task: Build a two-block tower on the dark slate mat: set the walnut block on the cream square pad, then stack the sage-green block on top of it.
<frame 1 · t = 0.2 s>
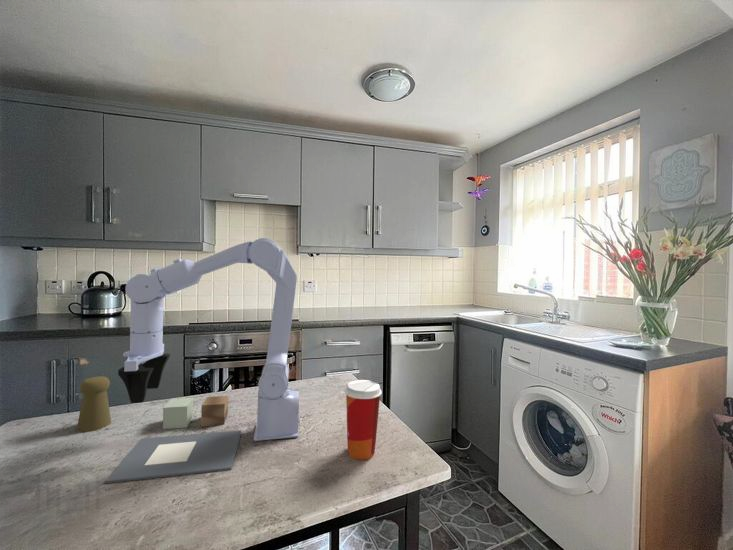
hand: (145, 394, 68), 10 cm above the counter, tool pointing down, fingers open, 7 cm apart
sage block: (178, 423, 76), on the counter
mat: (183, 453, 63), on the counter
paper cup: (360, 453, 66), on the counter
walnut block: (214, 420, 78), on the counter
cork: (94, 426, 73), on the counter
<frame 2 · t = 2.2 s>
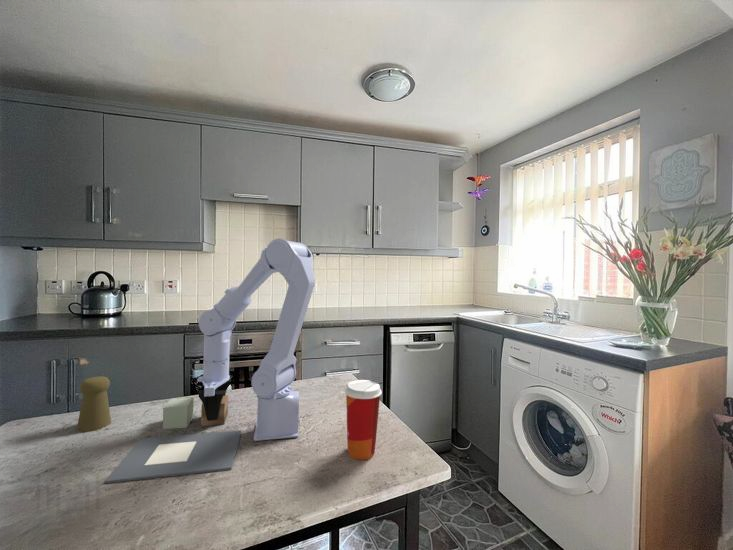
hand: (215, 414, 78), 1 cm above the counter, tool pointing down, fingers closed on walnut block, 5 cm apart
walnut block: (214, 420, 78), on the counter, touching gripper
everything else where it was.
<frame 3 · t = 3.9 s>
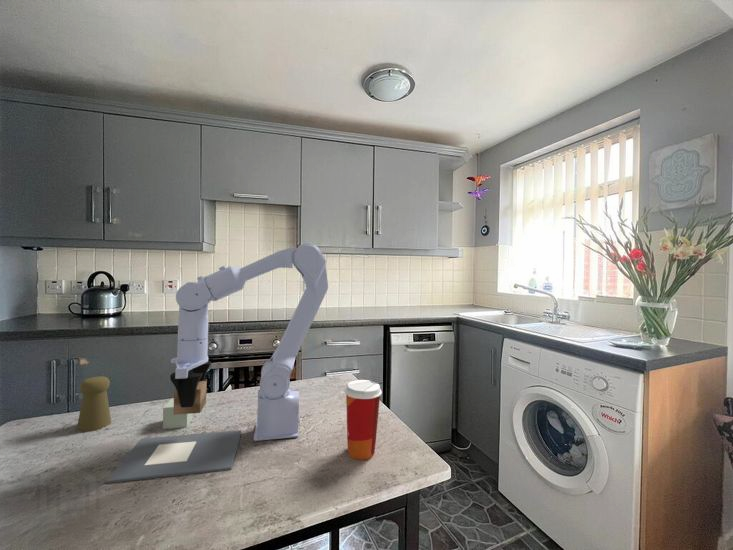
hand: (191, 401, 68), 8 cm above the counter, tool pointing down, fingers closed on walnut block, 5 cm apart
walnut block: (190, 408, 68), point 7 cm above the counter, touching gripper
everything else where it was.
when the fingers open (3 cm above the counter, at t = 5.9 s): walnut block stays where it is, resting on mat.
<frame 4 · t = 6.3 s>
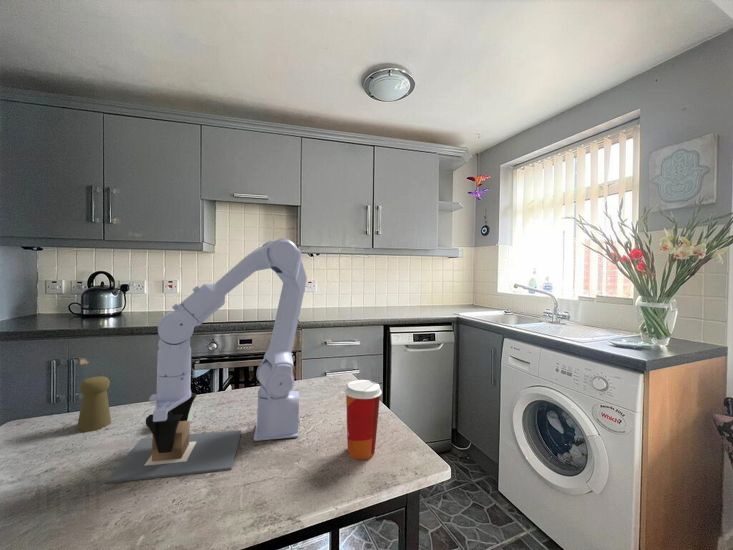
hand: (172, 440, 63), 3 cm above the counter, tool pointing down, fingers open, 7 cm apart
walnut block: (171, 452, 63), resting on mat
everything else where it was.
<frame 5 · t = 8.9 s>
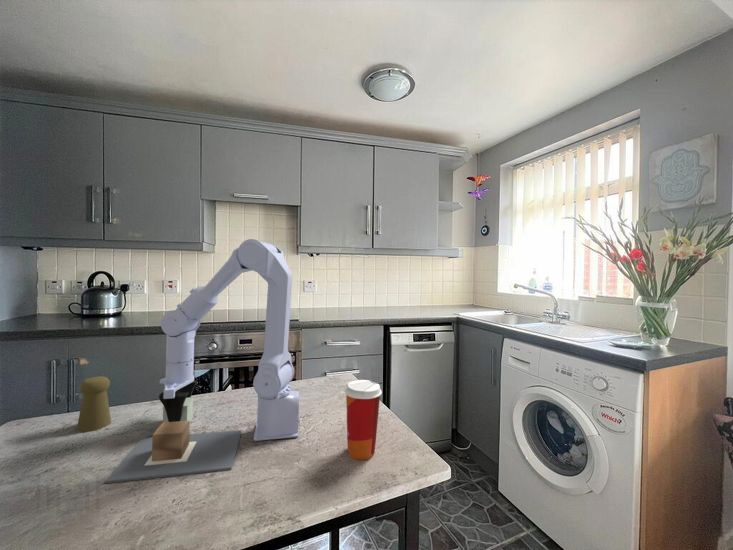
hand: (178, 417, 76), 1 cm above the counter, tool pointing down, fingers closed on sage block, 5 cm apart
sage block: (178, 422, 76), on the counter, touching gripper
everything else where it was.
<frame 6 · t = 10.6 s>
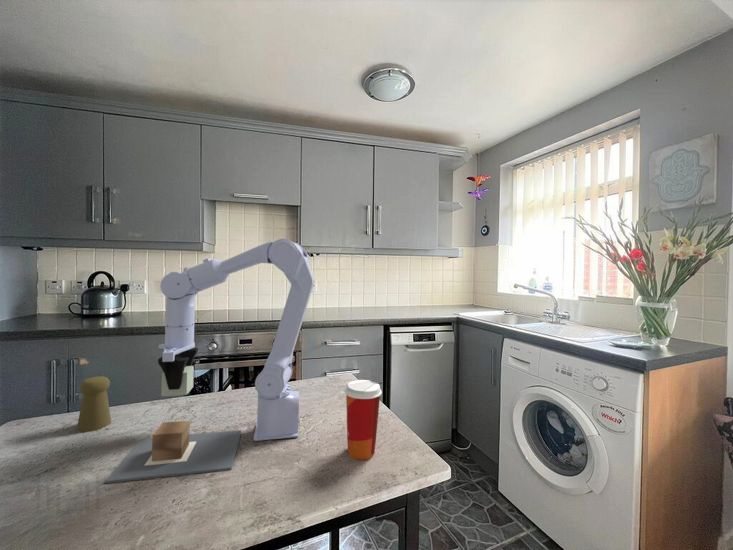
hand: (178, 384, 73), 10 cm above the counter, tool pointing down, fingers closed on sage block, 5 cm apart
sage block: (177, 391, 73), point 9 cm above the counter, touching gripper
everything else where it was.
when the fingers open (8 cm above the counter, at t = 12.2 s): sage block stays where it is, resting on walnut block.
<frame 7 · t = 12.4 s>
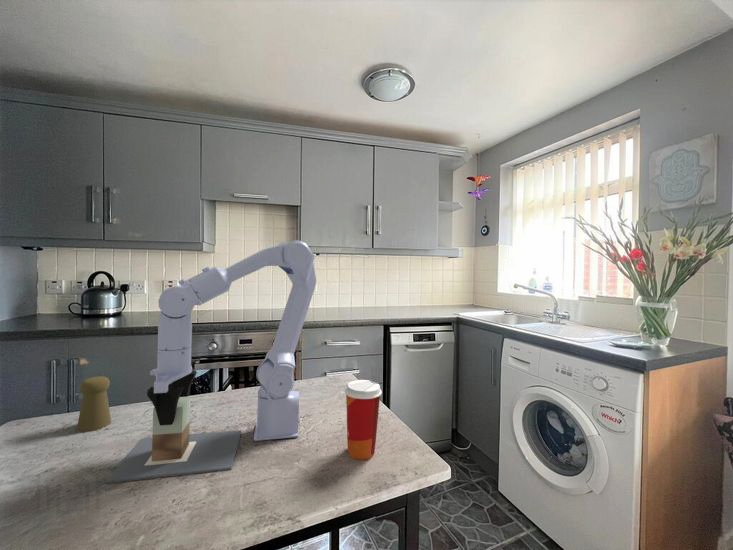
hand: (173, 415, 63), 8 cm above the counter, tool pointing down, fingers open, 6 cm apart
sage block: (172, 427, 63), point 5 cm above the counter, touching walnut block
walnut block: (171, 452, 63), resting on mat, touching sage block
everything else where it was.
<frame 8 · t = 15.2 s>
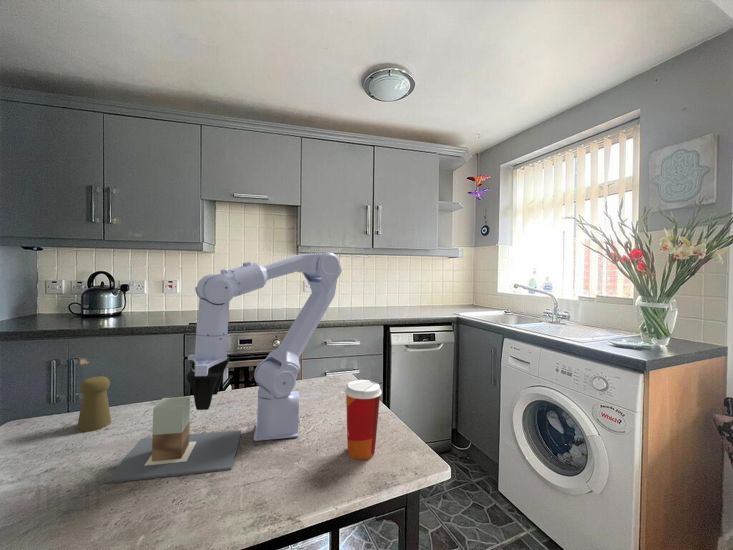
hand: (207, 401, 64), 10 cm above the counter, tool pointing down, fingers open, 7 cm apart
nothing on the counter moved.
at the end: walnut block 0.1 cm from the target spot on the mat, point 0.5 cm above the mat's base; sage block 0.0 cm from the walnut block (horizontally); sage block point 5.5 cm above the counter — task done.
